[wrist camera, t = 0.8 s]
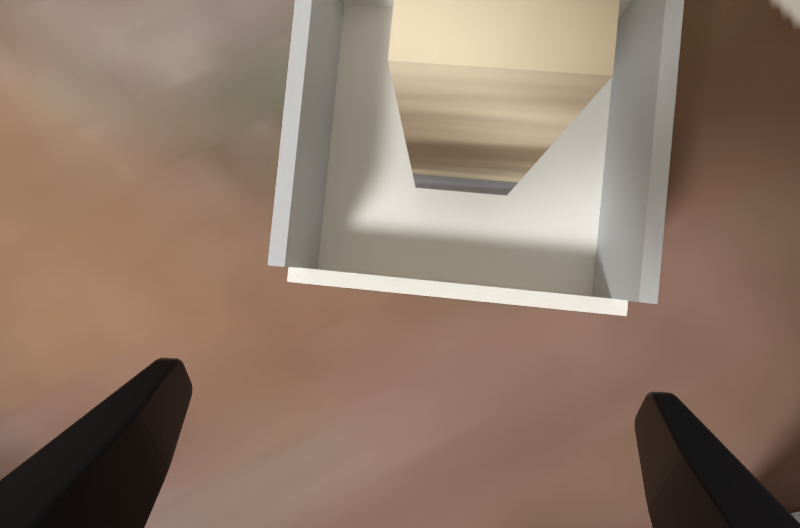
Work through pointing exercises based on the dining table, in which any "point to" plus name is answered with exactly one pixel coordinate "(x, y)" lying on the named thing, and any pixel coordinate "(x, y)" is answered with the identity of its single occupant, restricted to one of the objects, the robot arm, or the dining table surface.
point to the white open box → (464, 211)
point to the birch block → (494, 83)
